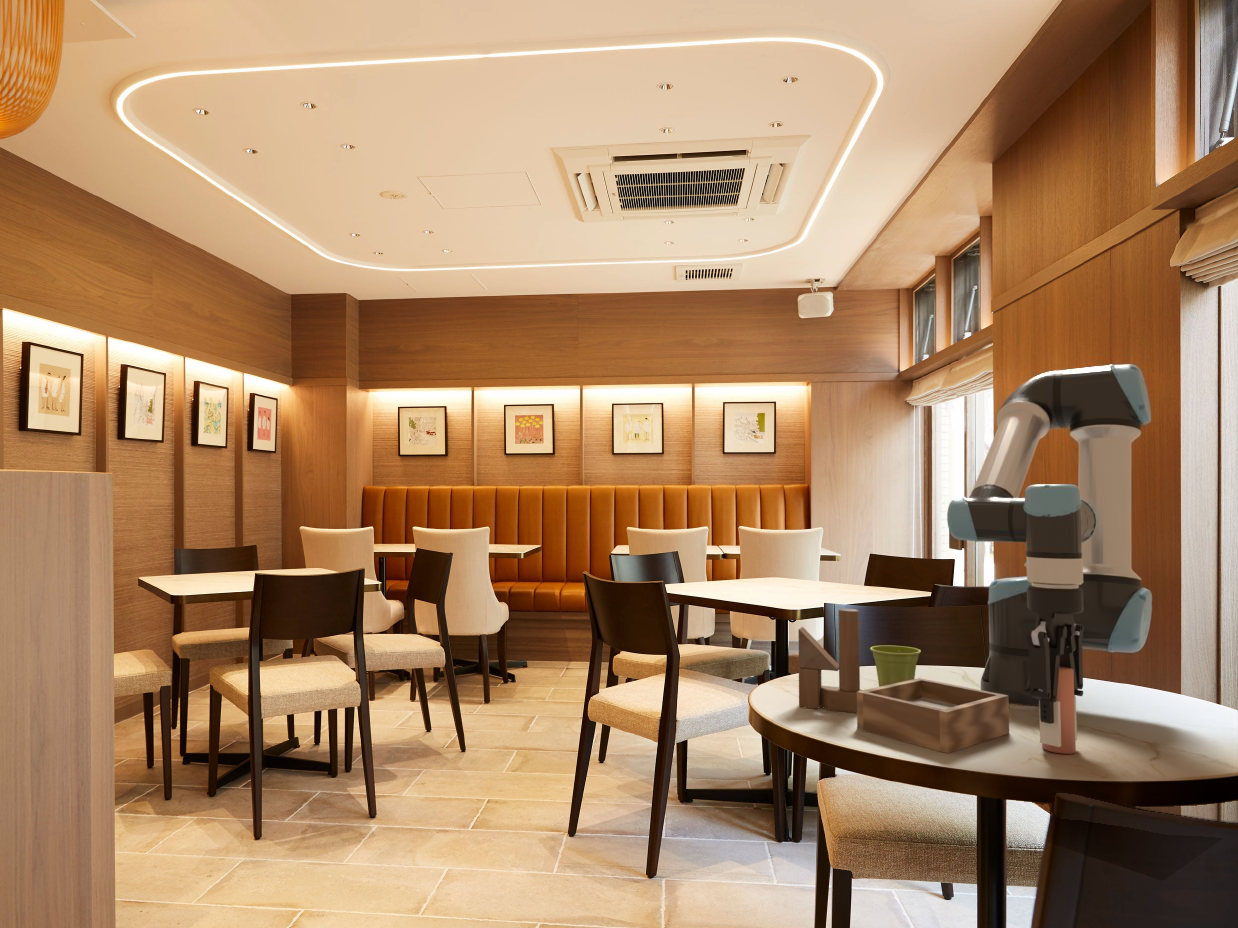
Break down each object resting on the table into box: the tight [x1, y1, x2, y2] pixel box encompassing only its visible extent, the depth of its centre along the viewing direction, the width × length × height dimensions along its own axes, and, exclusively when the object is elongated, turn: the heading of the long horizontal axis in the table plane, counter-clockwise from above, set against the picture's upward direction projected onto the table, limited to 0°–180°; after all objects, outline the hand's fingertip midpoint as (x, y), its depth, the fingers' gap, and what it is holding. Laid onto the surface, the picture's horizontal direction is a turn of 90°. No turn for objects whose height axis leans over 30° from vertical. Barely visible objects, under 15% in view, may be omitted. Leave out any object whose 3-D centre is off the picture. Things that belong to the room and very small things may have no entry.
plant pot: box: [869, 645, 922, 687], centre depth 154 cm, size 9×9×9 cm
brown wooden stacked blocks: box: [797, 608, 863, 714], centre depth 143 cm, size 4×11×18 cm, turn 66°
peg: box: [1041, 666, 1077, 755], centre depth 118 cm, size 4×4×12 cm
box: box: [856, 677, 1010, 754], centre depth 128 cm, size 18×16×6 cm
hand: (1058, 740), depth 118 cm, fingers closed on peg, 4 cm apart
